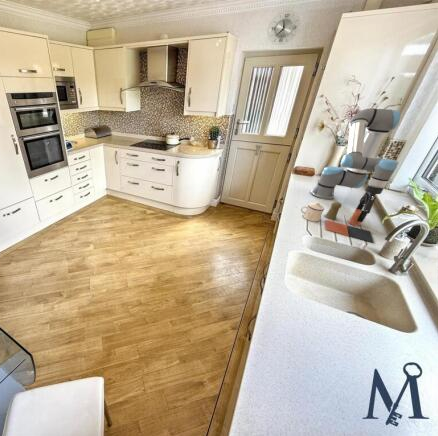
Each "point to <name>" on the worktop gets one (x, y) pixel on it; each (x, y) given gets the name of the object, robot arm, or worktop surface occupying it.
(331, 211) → the olive rounded bottle shape
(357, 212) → the copper-orange cylinder
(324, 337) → the worktop surface
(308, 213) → the teacup with lid
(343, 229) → the terracotta mat
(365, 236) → the charcoal mat
